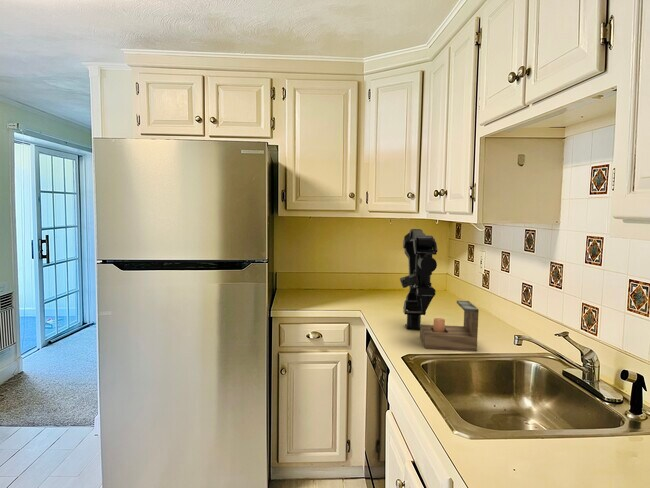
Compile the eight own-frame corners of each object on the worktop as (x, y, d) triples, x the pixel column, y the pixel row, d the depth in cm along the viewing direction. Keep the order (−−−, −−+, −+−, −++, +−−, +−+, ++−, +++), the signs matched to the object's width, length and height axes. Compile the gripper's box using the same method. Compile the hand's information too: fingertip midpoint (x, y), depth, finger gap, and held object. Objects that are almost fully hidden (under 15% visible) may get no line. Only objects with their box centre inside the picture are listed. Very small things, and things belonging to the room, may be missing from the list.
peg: (432, 338, 156) (432, 318, 155) (443, 339, 155) (443, 318, 155) (434, 342, 152) (434, 320, 151) (445, 342, 151) (445, 321, 151)
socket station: (419, 336, 161) (421, 299, 160) (467, 339, 159) (468, 300, 158) (425, 348, 147) (426, 307, 146) (476, 351, 146) (478, 309, 144)
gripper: (398, 264, 165) (397, 302, 167) (405, 271, 147) (403, 314, 148) (426, 265, 164) (425, 303, 166) (436, 272, 146) (434, 315, 147)
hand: (421, 308), depth 157 cm, fingers open, 9 cm apart
